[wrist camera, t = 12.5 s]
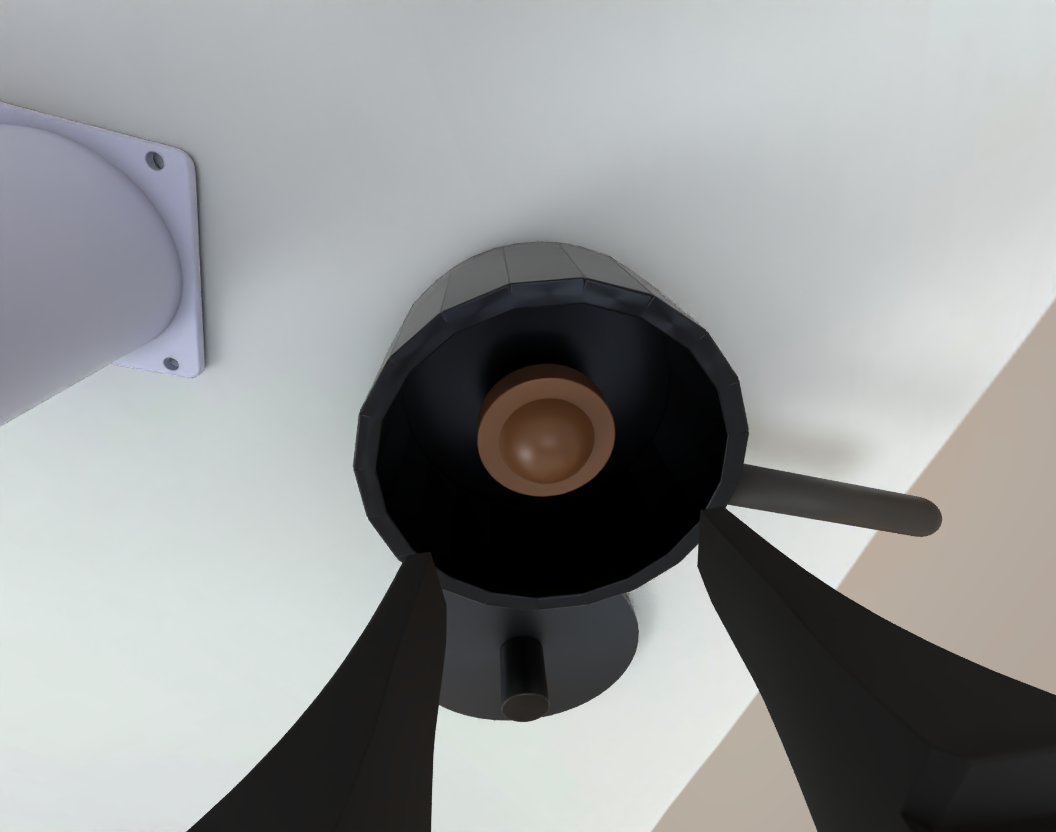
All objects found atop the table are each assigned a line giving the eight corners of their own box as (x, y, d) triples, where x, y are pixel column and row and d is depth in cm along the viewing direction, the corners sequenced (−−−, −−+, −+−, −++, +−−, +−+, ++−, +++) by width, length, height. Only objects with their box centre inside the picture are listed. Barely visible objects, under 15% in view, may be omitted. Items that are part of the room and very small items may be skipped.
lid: (388, 694, 30) (375, 773, 26) (422, 530, 24) (410, 601, 20) (592, 710, 32) (606, 784, 29) (668, 565, 26) (698, 634, 23)
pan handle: (682, 481, 19) (697, 508, 18) (698, 447, 18) (716, 472, 17) (905, 521, 21) (935, 547, 20) (928, 491, 20) (961, 517, 19)
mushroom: (522, 469, 22) (531, 541, 18) (453, 388, 20) (445, 448, 16) (618, 411, 21) (650, 473, 17) (556, 319, 19) (576, 365, 15)
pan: (372, 486, 23) (338, 589, 17) (412, 201, 17) (379, 225, 12) (623, 525, 25) (661, 626, 20) (729, 285, 19) (821, 337, 14)
